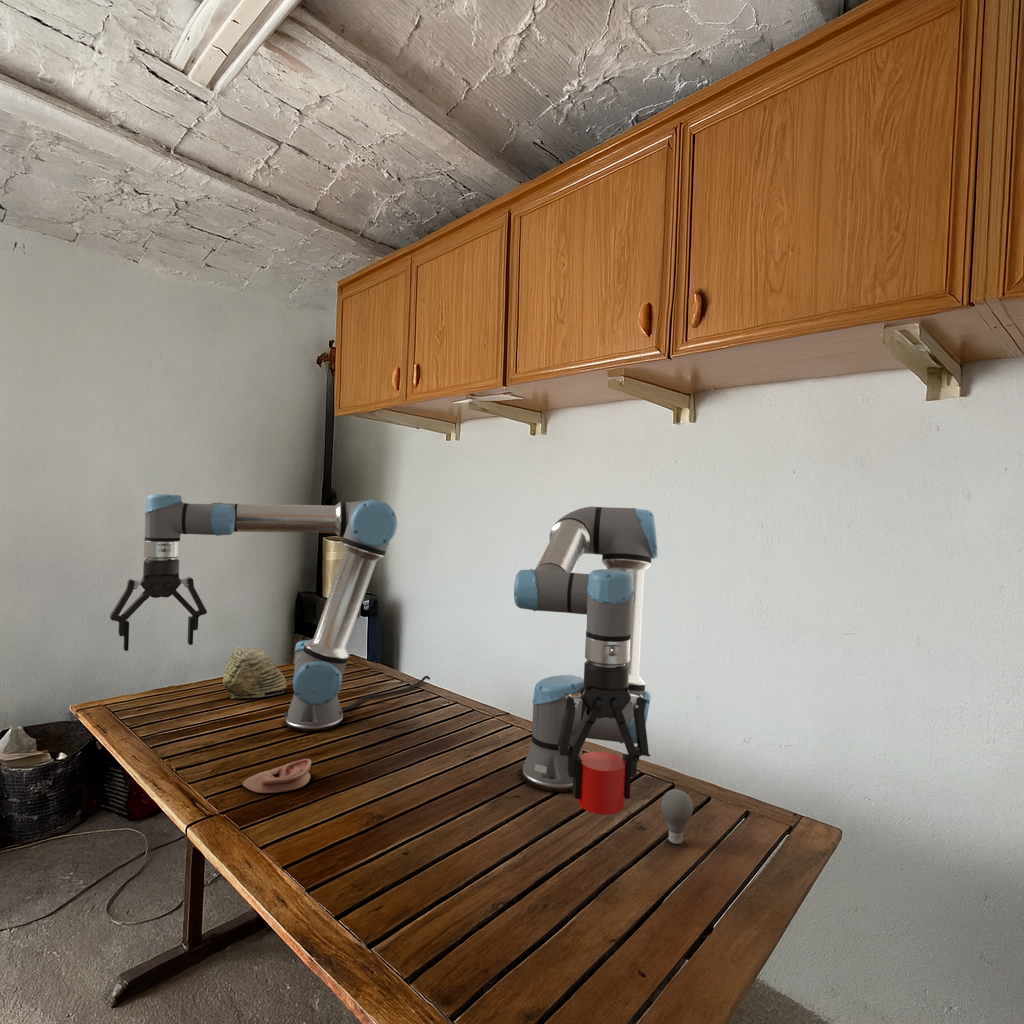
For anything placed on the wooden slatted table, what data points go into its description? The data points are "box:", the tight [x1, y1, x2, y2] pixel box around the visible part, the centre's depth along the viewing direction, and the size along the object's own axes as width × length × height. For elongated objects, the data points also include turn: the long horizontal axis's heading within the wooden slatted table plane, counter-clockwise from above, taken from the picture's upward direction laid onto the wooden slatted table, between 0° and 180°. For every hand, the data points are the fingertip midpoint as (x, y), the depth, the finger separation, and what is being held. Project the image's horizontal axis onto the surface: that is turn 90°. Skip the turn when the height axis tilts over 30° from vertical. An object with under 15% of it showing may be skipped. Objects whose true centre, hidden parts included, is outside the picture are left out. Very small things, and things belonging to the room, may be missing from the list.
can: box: [576, 751, 626, 816], centre depth 107 cm, size 8×8×7 cm
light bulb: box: [660, 788, 694, 845], centre depth 121 cm, size 6×6×10 cm
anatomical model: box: [241, 758, 312, 794], centre depth 139 cm, size 13×4×12 cm
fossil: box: [222, 646, 288, 699], centre depth 198 cm, size 9×18×15 cm, turn 132°
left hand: (158, 646), depth 152 cm, fingers open, 13 cm apart
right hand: (600, 794), depth 108 cm, fingers closed on can, 8 cm apart
